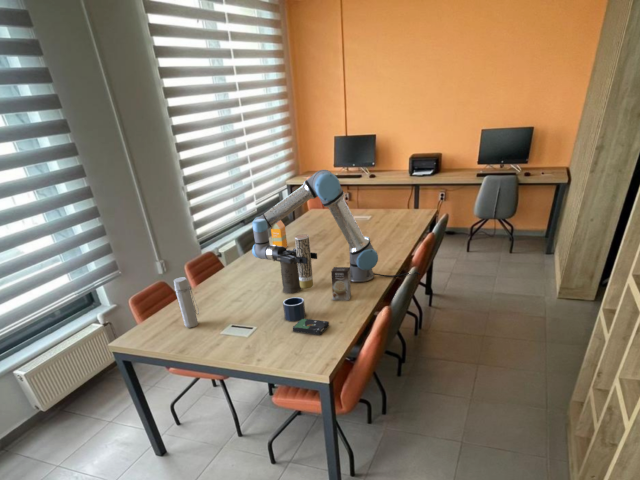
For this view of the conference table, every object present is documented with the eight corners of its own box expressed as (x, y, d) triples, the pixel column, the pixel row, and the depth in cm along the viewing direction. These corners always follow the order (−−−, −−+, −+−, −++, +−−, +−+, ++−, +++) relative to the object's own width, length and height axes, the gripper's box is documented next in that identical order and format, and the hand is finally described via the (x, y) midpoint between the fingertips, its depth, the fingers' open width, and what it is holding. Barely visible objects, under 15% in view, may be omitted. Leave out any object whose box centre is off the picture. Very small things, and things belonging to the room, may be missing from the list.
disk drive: (329, 326, 218) (302, 322, 225) (329, 321, 216) (301, 317, 223) (320, 336, 211) (292, 332, 217) (319, 330, 209) (291, 326, 216)
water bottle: (187, 329, 235) (174, 283, 220) (183, 324, 240) (170, 279, 226) (203, 324, 237) (192, 278, 223) (199, 319, 243) (187, 274, 229)
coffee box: (332, 300, 243) (330, 271, 234) (335, 295, 248) (333, 266, 238) (348, 300, 240) (347, 271, 231) (351, 295, 245) (350, 266, 235)
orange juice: (273, 249, 332) (269, 221, 320) (278, 245, 338) (274, 217, 327) (283, 249, 329) (279, 221, 318) (287, 245, 336) (284, 217, 324)
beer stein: (299, 293, 256) (296, 257, 246) (281, 294, 259) (277, 258, 248) (304, 285, 269) (301, 250, 258) (286, 286, 271) (283, 252, 261)
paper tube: (299, 285, 233) (294, 235, 218) (312, 283, 233) (307, 233, 218) (300, 290, 227) (295, 239, 212) (314, 288, 227) (309, 237, 212)
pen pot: (307, 312, 234) (305, 297, 229) (303, 321, 226) (301, 305, 221) (287, 312, 237) (285, 297, 232) (283, 321, 229) (280, 305, 224)
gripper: (290, 254, 239) (324, 259, 226) (265, 266, 228) (299, 272, 215) (288, 240, 235) (323, 244, 221) (262, 251, 224) (298, 257, 210)
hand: (311, 258), depth 218 cm, fingers closed on paper tube, 7 cm apart
